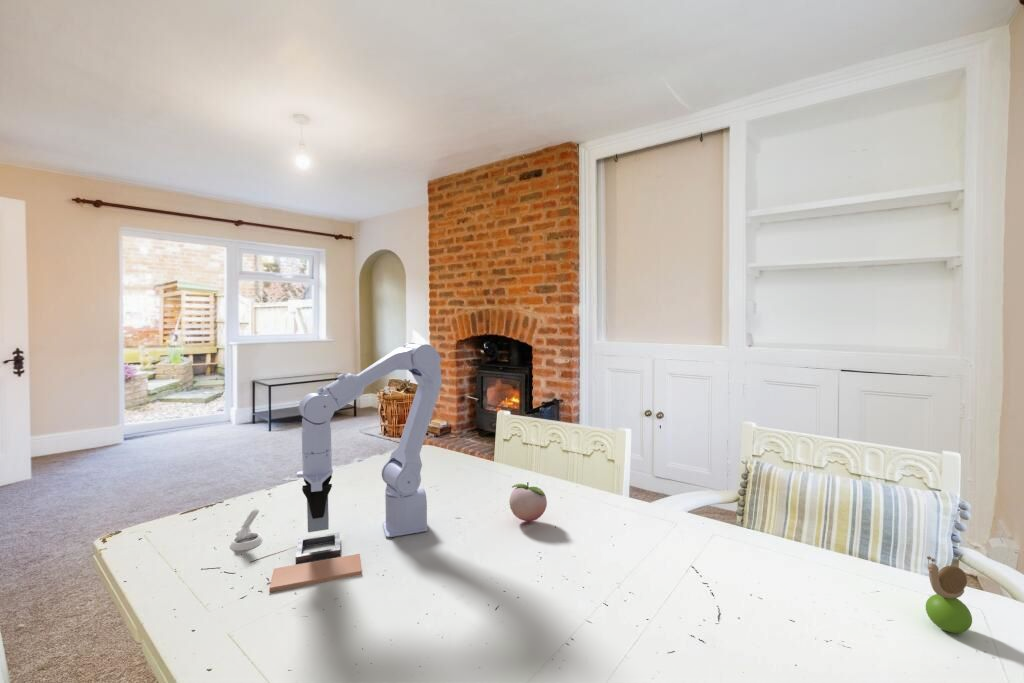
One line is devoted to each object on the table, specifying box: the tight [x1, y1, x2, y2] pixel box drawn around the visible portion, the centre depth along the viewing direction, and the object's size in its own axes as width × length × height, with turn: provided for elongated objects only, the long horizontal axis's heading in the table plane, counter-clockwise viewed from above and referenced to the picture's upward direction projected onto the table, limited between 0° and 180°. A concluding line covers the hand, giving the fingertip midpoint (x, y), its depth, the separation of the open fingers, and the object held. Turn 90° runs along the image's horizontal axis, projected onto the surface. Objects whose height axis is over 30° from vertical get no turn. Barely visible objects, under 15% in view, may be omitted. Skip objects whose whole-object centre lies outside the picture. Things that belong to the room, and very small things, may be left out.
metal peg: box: [306, 496, 330, 533], centre depth 99 cm, size 4×4×8 cm
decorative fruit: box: [509, 481, 548, 523], centre depth 113 cm, size 9×8×10 cm
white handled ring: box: [229, 507, 264, 551], centre depth 102 cm, size 6×10×6 cm
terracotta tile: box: [269, 553, 363, 593], centre depth 91 cm, size 16×7×1 cm, turn 111°
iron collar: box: [295, 532, 341, 565], centre depth 99 cm, size 8×8×2 cm
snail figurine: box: [925, 555, 973, 634], centre depth 74 cm, size 5×6×12 cm
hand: (318, 513), depth 99 cm, fingers closed on metal peg, 4 cm apart
